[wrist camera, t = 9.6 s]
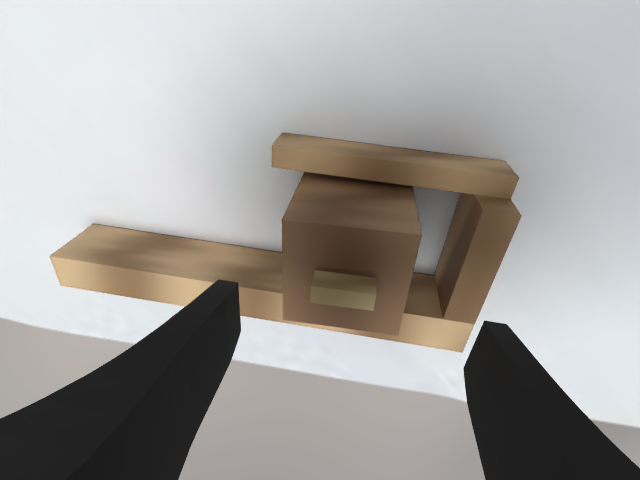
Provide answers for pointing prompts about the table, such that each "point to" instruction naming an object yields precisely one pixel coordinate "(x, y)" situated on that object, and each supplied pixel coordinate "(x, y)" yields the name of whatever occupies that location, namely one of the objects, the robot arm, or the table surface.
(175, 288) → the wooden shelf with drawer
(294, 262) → the cabinet
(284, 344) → the table surface
